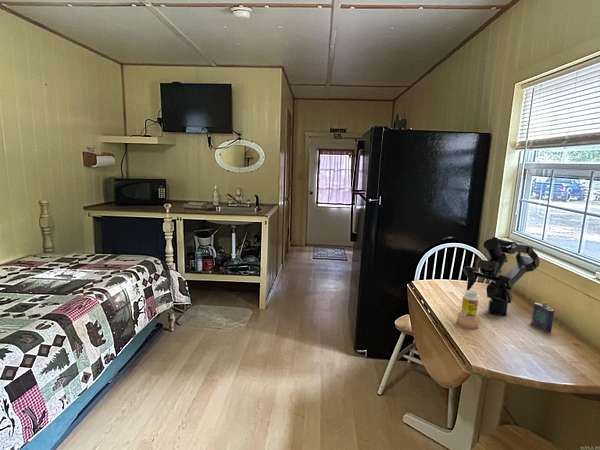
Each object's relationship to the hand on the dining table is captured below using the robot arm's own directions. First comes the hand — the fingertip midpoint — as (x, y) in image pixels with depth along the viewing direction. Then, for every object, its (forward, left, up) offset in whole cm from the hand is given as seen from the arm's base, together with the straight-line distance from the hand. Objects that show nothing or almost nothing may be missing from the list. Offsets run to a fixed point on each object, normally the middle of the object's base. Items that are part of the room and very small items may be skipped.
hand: (478, 293), depth 147 cm
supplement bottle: (+3, +4, -8) cm, 10 cm away
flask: (-26, -5, -13) cm, 29 cm away
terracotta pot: (+3, +4, -12) cm, 14 cm away
